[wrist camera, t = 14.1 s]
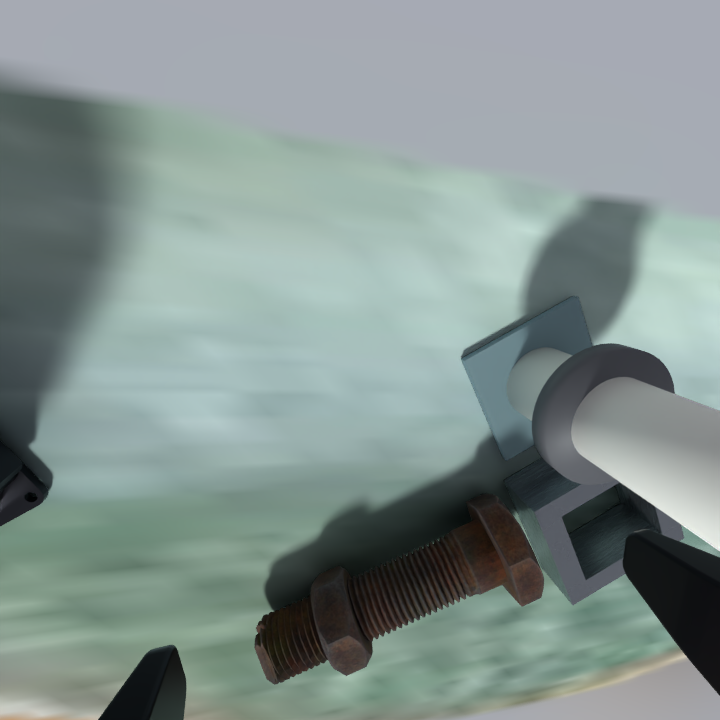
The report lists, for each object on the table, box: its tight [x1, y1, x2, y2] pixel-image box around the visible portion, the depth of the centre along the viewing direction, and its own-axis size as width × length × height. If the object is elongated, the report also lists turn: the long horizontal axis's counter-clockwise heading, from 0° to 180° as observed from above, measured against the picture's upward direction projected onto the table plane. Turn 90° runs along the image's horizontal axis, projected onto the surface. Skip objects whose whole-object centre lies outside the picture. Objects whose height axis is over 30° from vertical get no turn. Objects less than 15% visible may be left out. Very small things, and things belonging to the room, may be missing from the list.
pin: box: [507, 343, 720, 551], centre depth 16 cm, size 6×6×13 cm
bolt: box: [255, 494, 544, 684], centre depth 22 cm, size 6×5×15 cm
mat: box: [461, 296, 592, 461], centre depth 22 cm, size 7×7×1 cm
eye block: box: [504, 458, 684, 605], centre depth 24 cm, size 8×8×3 cm
